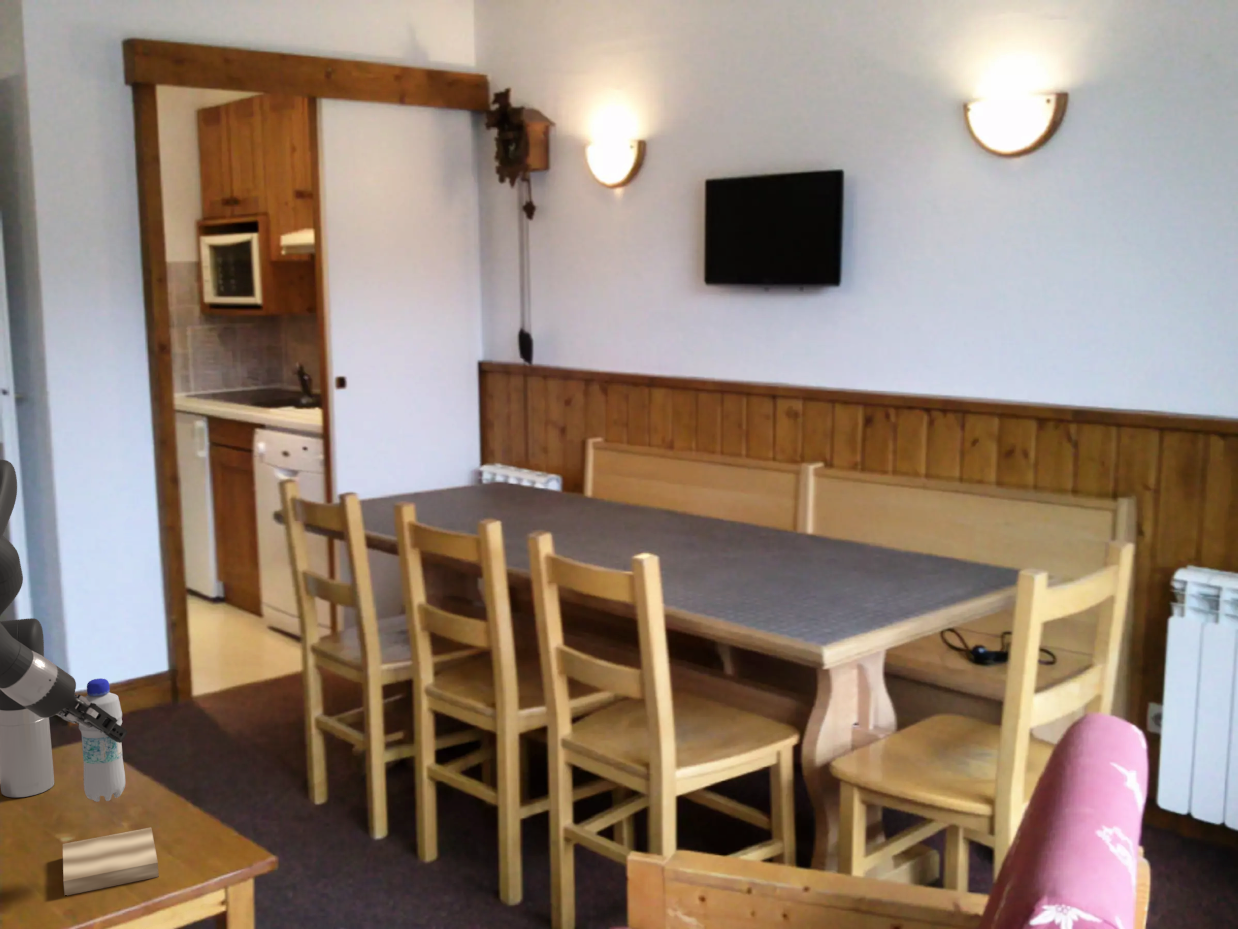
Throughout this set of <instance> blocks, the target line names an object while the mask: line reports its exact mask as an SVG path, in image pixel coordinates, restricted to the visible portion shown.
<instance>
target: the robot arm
mask: <svg viewBox="0 0 1238 929" xmlns="http://www.w3.org/2000/svg"><path fill="white" fill-rule="evenodd" d="M17 479H18V478H17V472H16V469H15V466H14V465H13V463H12V462H10V461H9V460H6V459H0V616H1V615H2V614H3V613H4V612H5V611H6V609H8V607H9V606H10V605H11V604H12V602H13V601H14V600H15V599H16V597H17V596H18V594H19V593H20V590H21V589H22V587H23V584H24V576H23V571H22V564H21V559H20V554H19V553H18V552H19V551H18V550H17V549H16V547H15V546H14V544H12V542H11V541H9V540H8V539H7V538H6V537H5V536H4V533H5V531H6V528H7V526H8V523H9V521H10V518H11V516H12V513H13V512H14V511H13V510H14V508H15V504H16V500H17V495H18V480H17ZM76 689H77V682H76V679H75V678H74V677H73V676H72V675H71V674H70V673H68V672H66V671H65V670H64V669H62V668H60V667H59V666H57V665H56V664H55V663H53V662H52V661H51V660H50V659H48V658H46V657H45V640H44V630H43V627H42V624H41V622H40V621H39V620H38V619H37V618H34V617H33V618H31V617H30V618H21V619H20V618H19V619H11V620H10V619H9V620H2V621H0V792H1V795H3V796H5V797H6V798H7V797H8V798H25V797H31V796H35V795H39V794H42V793H44V792H46V791H49V790H50V789H52V788H53V786H54V785H55V776H54V773H55V772H54V761H53V751H52V739H51V738H52V737H51V726H50V718H51V717H54V716H58V717H59V718H61V719H62V720H64V721H66V722H69V723H71V724H75V725H78V726H79V724H81V725H83V726H84V727H86V728H90V727H93V728H95V729H97V730H98V731H100V733H104V734H105V735H107V736H108V737H110V738H111V739H113V740H114V741H116V742H119V743H121V742H123V741H124V740H125V738H126V736H127V735H128V730H127V729H125V728H124V727H122V725H121V726H119V725H118V724H117V723H116V722H117V721H118V720H117V719H116V718H115V717H112V716H111V715H109V714H108V713H107V712H105V711H104V710H102V709H101V708H100V707H98V706H97V705H96V704H95V703H90V702H88V700H87V699H86V698H85V696H83V695H81V694H76ZM85 720H87V721H89V722H84V721H85ZM104 720H105V721H104ZM102 723H103V724H102Z"/></svg>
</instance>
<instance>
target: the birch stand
mask: <svg viewBox="0 0 1238 929" xmlns="http://www.w3.org/2000/svg"><path fill="white" fill-rule="evenodd" d="M154 840H155V839H154V833H153V830H152V827H146V828H141V829H136V830H129V831H125V832H120V833H114V834H109V835H103V836H98V837H92V838H88V839H80V840H78V841H77V840H75V841H71V842H66V843H62V870H63V871H62V872H63V874H62V876H63V892H64V896H65V895H67V896H70V895H76V894H80V893H85V892H91V891H95V890H100V889H105V888H110V887H114V886H120V885H121V886H122V885H125V884H130V883H135V882H139V881H144V880H149V879H155V878H159V876H160V874H159V862H158V856H157V850H156V846H155V841H154Z"/></svg>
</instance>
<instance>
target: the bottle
mask: <svg viewBox="0 0 1238 929" xmlns="http://www.w3.org/2000/svg"><path fill="white" fill-rule="evenodd" d="M109 682H110V681H108V679H107V678H94V679H91V680H90V681H88V682H87V684H86V693H87V695H86V696H84V697H85V698H86V699H87V700H88V702H90V703H95V704H96V705H97V706H98V707H100V708H101V709H102V710H104V711H105V712H107V713H108V714H109V715H111V716H112V717H115V718H116V719H117V720H118V721H117V722H116V723H117V724H118V725H119V726H121V727H122V725H123V724H122V723H123V720H122V718H123V712H122V706H121V702H120V699H119V695H117V694H116V693H114V692H113V693H112V692H110V691H111V690H110V683H109ZM104 721H105V720H104ZM84 722H89V721H87V720H85V721H84ZM102 724H103V723H102ZM78 730H79V731H80V733H81V746H82V748H81V749H82V759H83V789H84V794H85V796H86V797H87V799H89V800H93V801H94V802H97V803H98V802H100V800H101V797H104V800H105V801H106V802H110V800H112V796H113V797H114V799H115V798H116V799H117V798H119V797H121V795H122V793H123V792H124V790H125V788H126V772H125V766H124V759H123V758H124V757H123V746H122V742H123V741H122V742H121V743H119V742H116V741H114V740H113V739H111V738H110V737H108V736H107V735H105V734H104V733H100V731H98V730H97V729H95V728H93V727H90V728H86V727H84V726H83V725H81V724H79V725H78Z"/></svg>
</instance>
